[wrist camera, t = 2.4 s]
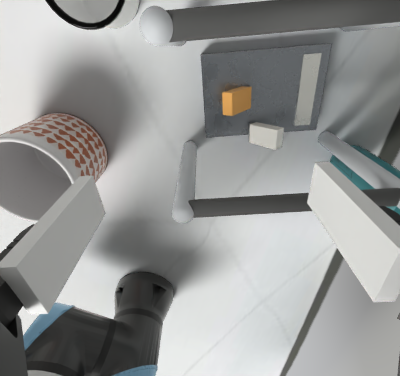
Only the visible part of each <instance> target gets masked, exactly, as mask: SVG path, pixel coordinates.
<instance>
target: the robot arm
mask: <svg viewBox="0 0 400 376" xmlns="http://www.w3.org/2000/svg"><path fill="white" fill-rule="evenodd" d="M307 203H308V205H309V206H310V208H311V209H312V211H313V212H314V214H315V215H316V217H317V218H318V220H319V221H320V223H321V224H322V226H323V227H324V229H325V230H326V232H327V233H328V235H329V236H330V238H331V239H332V241H333V242H334V244H335V245H336V247H337V248H338V250H339V251H340V253H341V254H342V256H343V257H344V259H345V260H346V261H347V263H348V264H349V266H350V268H351V269H352V271H353V272H354V274H355V275H356V276H357V278H358V279H359V281H360V283H361V284H362V286H363V287H364V289H365V290H366V291H367V293H368V294H369V296H370V297H371V299H372V300H373V302H391V301H392V302H393V301H395V300H396V298H397V296H398V295H399V293H400V215H399V214H398V213H397V212H395V211H393V210H391V209H389V208H387V207H386V206H377V205H376V204H375V203H374V202H373V201H372V200H371V199H370V198H369V197H368V196H366V195H365V194H364V193H363V192H362V191H361V190H360V189H359V188H358V187H357V186H356V185H354V184H353V183H352V182H351V181H350V180H349V179H348V178H347V177H346V176H345V175H343V174H342V173H341V172H340V171H339V170H338V169H337V168H336V167H335V166H334V165H332V164H331V163H330V162H329V161H327V162H315V165H314V170H313V175H312V180H311V185H310V190H309V195H308V200H307ZM105 214H106V213H105V210H104V207H103V204H102V201H101V198H100V196H99V193H98V190H97V187H96V184H95V181H94V178H93V176H80V177H79V178H78V179H77V180H76V181H75V182H74V183H73V184H72V185H71V186H70V187H69V188H68V189H67V191H66V192H65V193H64V194H63V195H62V196H61V197H60V198H59V199H58V200H57V201H56V202H55V203H54V204H53V206H52V207H51V208H50V209H49V210H48V211H47V212H46V213H45V214H44V215H43V216H42V217H41V218H40V220H39V221H38V222H37V223H36V224H32V225H31V226H29V227H28V228H26V229H25V230H23V231H22V232H21V233H20V234H19V235H18V236H17V237H16V238H15V239H14V240H13V242H11V243H10V244H9V245H8V246H7V249H4V250H3V251H2V252H1V253H0V376H155V375H156V371H157V363H158V355H159V348H160V340H161V332H162V325H163V321H164V319H165V317H166V314H167V312H168V310H169V308H170V306H171V304H172V301H173V288H172V286H171V284H170V283H169V282H168V281H167V280H166V279H164V278H163V277H161V276H158V275H156V274H152V273H146V272H138V273H132V274H129V275H127V276H125V277H123V278H122V279H121V280H120V281H119V283H118V285H117V288H116V291H115V317H114V320H113V319H110V318H107V317H104V316H101V315H98V314H95V313H92V312H89V311H85V310H82V309H79V308H76V307H75V306H73V305H72V306H69V305H65V304H62V303H55V301H56V299H57V298H58V296H59V294H60V292H61V291H62V289H63V287H64V285H65V284H66V282H67V280H68V278H69V277H70V275H71V273H72V271H73V270H74V268H75V266H76V264H77V263H78V261H79V259H80V257H81V256H82V254H83V252H84V250H85V249H86V247H87V245H88V243H89V242H90V240H91V238H92V236H93V235H94V233H95V231H96V229H97V228H98V226H99V224H100V222H101V221H102V219H103V217H104V215H105ZM22 306H24V308H25V309H26V310H27V311H28V313H29V314H40V315H39V316H38V317H37V318H36V319H35V321H34V322H33V323H32V325H31V326H30V327H29V329H28V330H27V331H26V333H25V334H24V335H23V332H22V324H21V319H20V317H19V316H18V312H19V311H20V309H21V308H22ZM397 319H399V320H400V314H399V315H398V317H397ZM398 376H400V356H399V366H398Z"/></svg>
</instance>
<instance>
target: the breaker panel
mask: <svg viewBox="0 0 400 376" xmlns="http://www.w3.org/2000/svg"><path fill="white" fill-rule="evenodd" d="M331 45H332V44H317V45H305V46H294V47H282V48H270V49H259V50H247V51H235V52H224V53H212V54H201V65H202V81H203V96H204V112H205V128H206V137H219V136H233V135H247V134H249V123H250V122H253V123H255V122H258V123H263V124H268V125H273V126H278V127H283V128H284V132H290V131H304V130H316V128H317V122H318V117H319V111H320V106H321V100H322V95H323V89H324V83H325V78H326V72H327V67H328V61H329V56H330V50H331ZM242 86H250V87H252V89H251V108H250V109H247V110H245V111H243V112H241V113H238V114H236V115H234V116H228V115H223V102H222V92H225V91H228V90H232V89H235V88H238V87H242Z"/></svg>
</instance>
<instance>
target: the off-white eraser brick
mask: <svg viewBox="0 0 400 376" xmlns="http://www.w3.org/2000/svg"><path fill="white" fill-rule="evenodd" d="M283 132H284V128H283V127H278V126H273V125H268V124H263V123H258V122H255V123H253V122H250V123H249V143H252V144H255V145H259V146H262V147H266V148H269V149H273V150H277V149H279V148H281V147H282V141H283Z"/></svg>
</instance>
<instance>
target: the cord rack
mask: <svg viewBox="0 0 400 376" xmlns="http://www.w3.org/2000/svg"><path fill="white" fill-rule="evenodd" d="M396 26H400V0H271V1H260V2H250V3H239V4H229V5H218V6H208V7H197V8H186V9H176V10H164V9H163V8H161V7H158V6H151V7H149V8H147V9H146V10H145V11H144V12H143V13H142V15H141V18H140V31H141V34H142V36H143V37H144V39H145V40H146V41H147V42H148V43H149V44H151V45H153V46H182V45H184V44H185V43H186V41H191V40H203V39H214V38H225V37H236V36H248V35H259V34H270V33H282V32H293V31H304V30H315V29H327V28H338V27H340V28H341V29H342V30H343V31H356V30H366V29H376V28H386V27H396ZM318 142H319V143H320V144H321V145H322V146H324V147H325V148H326V149H327V150H328V151H330V152H331V153H332V154H333V155H335V156H336V157H337V158H338V159H339V160H341V161H342V162H343V163H344V164H346V165H347V166H348V167H349V168H350V169H352V170H353V171H354V172H355V173H356V174H358V175H359V176H360V177H361V178H363V179H364V180H365V181H366V182H367V183H369V184H370V185H371V186H372V187H373V188H375V189H366V190H361V191H362V192H363V193H364V194H365V195H366V196H368V197H369V198H370V199H371V200H372V201H373V202H374V203H375V204H376V205H377V206H386V207H391V206H397V207H398V208H399V209H400V179H399V178H398V177H396V176H395V175H393V174H392V173H390V172H389V171H387V170H386V169H384V168H383V167H381V166H380V165H378V164H377V163H375V162H374V161H372V160H371V159H369V158H368V157H366V156H365V155H363V154H362V153H360V152H359V151H357V150H356V149H354V148H353V147H351V146H350V145H348V144H347V143H345V142H344V141H342V140H341V139H339V138H338V137H336V136H335V135H333V134H332V133H330V132H328V131H325V132H323V133H321V134H320V135H319V137H318ZM196 155H197V145H196V144H195V143H194V142H193V141H187V142H186V143H185V144H184V147H183V153H182V159H181V164H180V170H179V176H178V181H177V187H176V192H175V198H174V204H173V209H172V217H173V219H174V220H175V221H177V222H179V223H188V222H190V221H191V220H192V219H193V218H196V217H214V216H231V215H249V214H267V213H285V212H302V211H312V209H311V208H310V206H309V205H308V203H307V200H308V195H309V193H299V194H282V195H265V196H248V197H231V198H215V199H198V200H195V177H196Z"/></svg>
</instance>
